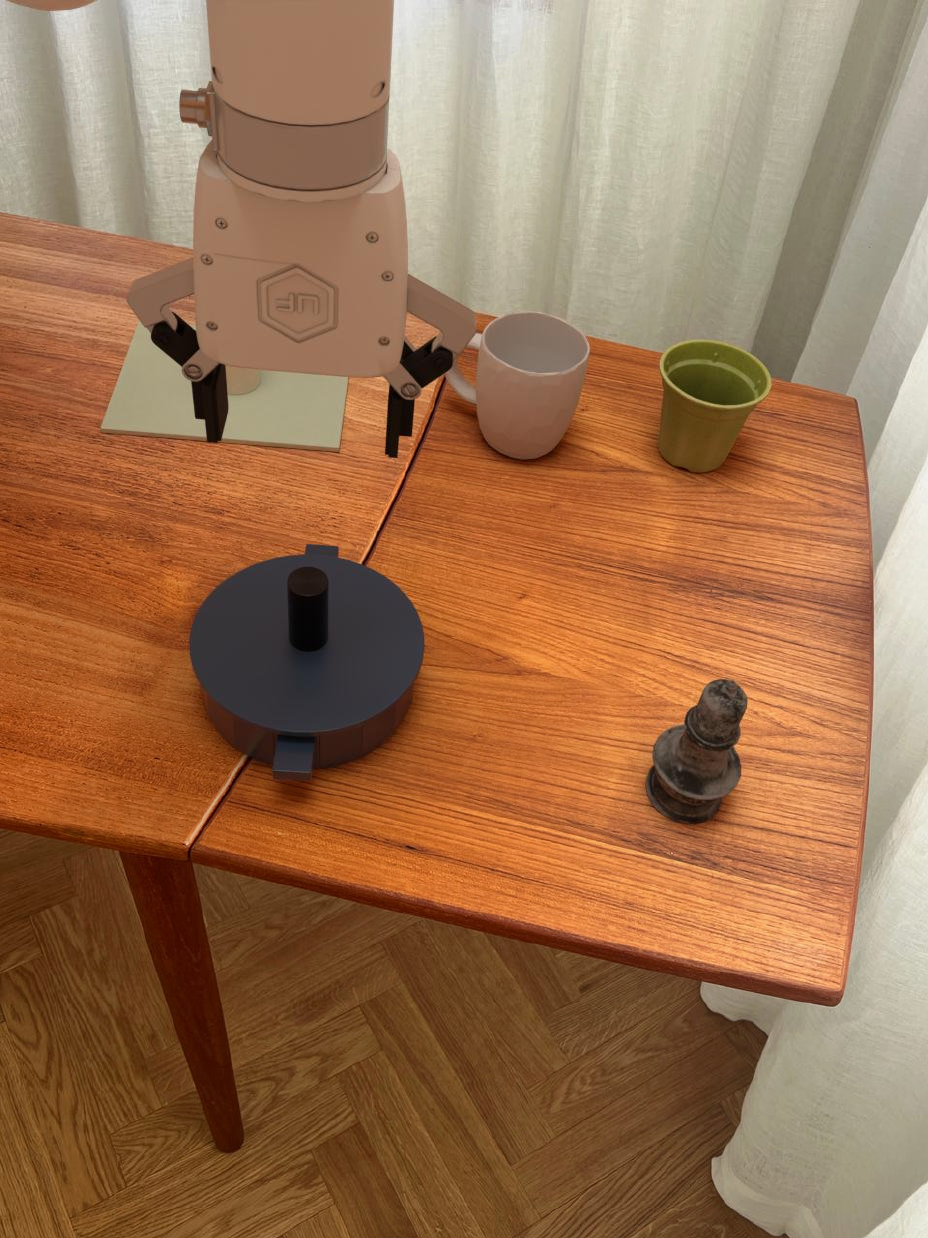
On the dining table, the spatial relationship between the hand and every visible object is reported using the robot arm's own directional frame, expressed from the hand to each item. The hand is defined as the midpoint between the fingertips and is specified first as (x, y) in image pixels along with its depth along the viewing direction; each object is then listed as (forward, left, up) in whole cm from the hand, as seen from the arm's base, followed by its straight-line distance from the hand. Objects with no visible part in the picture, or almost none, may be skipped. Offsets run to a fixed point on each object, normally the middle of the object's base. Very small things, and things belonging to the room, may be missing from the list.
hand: (305, 434), depth 62 cm
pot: (0, 0, -22) cm, 22 cm away
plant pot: (+31, +29, -22) cm, 48 cm away
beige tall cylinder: (-10, +33, -22) cm, 41 cm away
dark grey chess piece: (+26, -7, -22) cm, 35 cm away
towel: (-10, +33, -22) cm, 41 cm away
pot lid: (0, 0, -18) cm, 18 cm away
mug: (+14, +30, -22) cm, 40 cm away
